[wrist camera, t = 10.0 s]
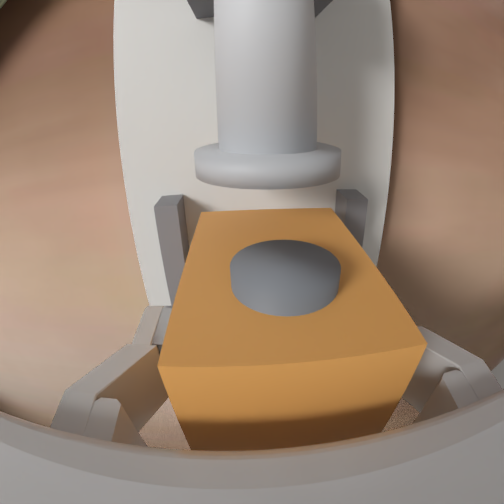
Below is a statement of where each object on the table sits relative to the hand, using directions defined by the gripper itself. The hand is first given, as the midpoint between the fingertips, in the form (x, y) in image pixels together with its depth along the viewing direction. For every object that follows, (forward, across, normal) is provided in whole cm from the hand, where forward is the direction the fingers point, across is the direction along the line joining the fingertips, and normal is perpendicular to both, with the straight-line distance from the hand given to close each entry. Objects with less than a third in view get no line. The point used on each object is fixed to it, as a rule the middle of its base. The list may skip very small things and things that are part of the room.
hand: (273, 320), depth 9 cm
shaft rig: (+5, 0, 0) cm, 5 cm away
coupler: (+2, 0, 0) cm, 2 cm away
